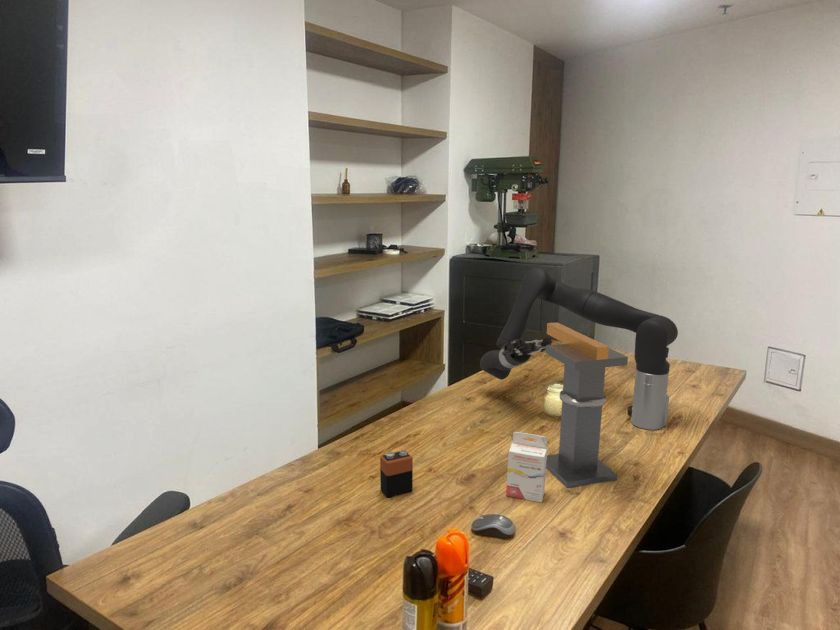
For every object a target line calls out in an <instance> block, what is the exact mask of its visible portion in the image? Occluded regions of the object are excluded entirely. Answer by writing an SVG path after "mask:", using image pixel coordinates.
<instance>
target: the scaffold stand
mask: <svg viewBox="0 0 840 630" xmlns="http://www.w3.org/2000/svg"><path fill="white" fill-rule="evenodd" d="M545 354H547V355H548V356H549V357H552V358H554V360H557V361H559V362H560V363H562V364H563V365H564V368H563V369H564V371H563V382H562V383H563V384H562V385H563V386H562V389H561V391H560V392H559V399H560V401H561V415H560V431H559V444H558V445H559V447H558V453H554V454H547V461H546V470H548V471H549V472H550V473H551V474H552V475H553V476H554V477H555V478H556V479H557V480H558V481H559V482H560V483H561V484H562V486H564V487H565V488H567V489H568V488H574V487H581V486H587V485H595V484H600V483H607V482H612V481H613V482H615V481H618V473H616V472H615V471H614V470H613V469H611V468H610V467H609V466H608V465H606V464H605V463H604V462H603V461H602V460H600V459H599V452H600V450H599V449H600V440H601V426H602V412H603V406H604V405H605V404H606V395H605V394H604V390H605V378H606V377H605V376H606V368H610V367H621V366H628V361H629V357H628V356H627V355H625V354H622V353H620V352H618V351H616V350H614V349H613V348H612V349H611V348H610V347H609V349H608V359H602V360H595V359H594V358H592V357H590V356H588V355H586V354H584V353H582V352H580V351H578V350H576V349H575V348H573V347H571V346H569V345H567V344H565V343H559V344H551V345H546V351H545Z"/></svg>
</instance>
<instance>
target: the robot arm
mask: <svg viewBox="0 0 840 630" xmlns="http://www.w3.org/2000/svg"><path fill="white" fill-rule="evenodd" d="M537 300H540V301H543V302H547V303H550V304H553V305H556V306H557V305H558V306H560V307H562V308H564V309H566V310H568V311H570V312H571V313H573V314H575V315H577V316H579V317H581V318H583V319H584V320H585V319H586V320H588V321H590V322H591V323H595V324H597V325H601V326H605V327H606V326H607V327H610V328H611V327H612V328H617V329H622V330H628V331H630V332H633V333H635V337H634V338H635V339H634V340H635V341H634V361H635V363H636V364H635V365H636V366H635V375H634V376H635V377H634V387H633V397H632V408H631V420H630V422H631V424H632V425H634V426H635V427H638V428H640V429H644V430H652V431H656V430H660V429H662V428H663V427H666V426H667V422H668V412H669V403H670V402H669V401H670V396H669V395H668V394H667V393H668V385H669V377H670V375H669V374H670V362H669V361H668V360H667V347H668V346H669V345H671V344H672V343H674V342H675V341H676V339H677V337H678V335H679V331H678V327H677V325H676V324H675V322H674V321H673V320H671V319H670V318H668V317H667V316H664V315H660V314H657V313H653V312H649V311H646V310H642V309H639V308H636V307H634V306H631V305H629V304H627V303H625V302H622V301H620V300H617V299H615V298H613V297H611V296H608V295H606V294H604V293H601V292H599V291H596V290H592V289H589V288H588V289H587V288H580V287H573V286H570V285H568V284H566V283H564V282H562V281H560V280H558V279H556V278H555V277H554V276H553V275H551V274H550V273H549V272H548V271H547V270H546V269H544V268H543V267H539V266H537V267H532V268H531V269H529V270H528V271H527V272H526V273H525V275H524V278H523V279H522V282H521V285H520V288H519V292H518V294H517V296H516V300H515V302H514V305H513V307H512V310H511V312H510V315H509V317H508V319H507V322H506V324H505V325H504V327H503V329H502V331H501V333H500V334H499V336H498V338H497V340H496V346H497V347H498V348H499V349H498V350H497V349H496V350H494V349H493V350H489V351H487V352H485V353H484V354H483V355H482V356H481V359H480V361H479V366H480V368H481V370H482V371H483V372H486V373H487V374H488V375H491V376H493V377H495V378H496V379H498V380H504V379H507V378H509V376H510V374H511V371H512V369H514V368H516V367H519V366H521V365H523V364H524V363H527V362H528V361H529V360H530V358H531V356H532V355H533V354H534V353H538V352H541V353H544V352H546V345H552V343H553V341H552V337H551V336H547V337H544V338H543V339H541V340H539V339H534V340H531V341H529V340H527V341H525V340H524V338H523V337H524V335H525V333H526V331H527V326H528V321H529V316H530V313H531V309H532V307H533V305H534V303H535V301H537Z"/></svg>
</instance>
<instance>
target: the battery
mask: <svg viewBox="0 0 840 630" xmlns="http://www.w3.org/2000/svg"><path fill="white" fill-rule="evenodd" d="M379 458H380V459H379V463H380V464H379V465H380V469H379V471H380V473H379V474H380V477H379V478H380V490H381V492H383V494H384V495H385V497H386V498H390V497H395V496H399V495H403V494H407V493H410V492H412V491H413V484H414V482H413V477H414V476H413V475H414V474H413V468H414V467H413V462H414V461H413V460H414V459H413V456H412V455H411V454H410V453H408V452H407V450H405V449H403V450H402V449H401V450H399V451H395V452H393V451H388V452H386V453H385V454H382V455H380V457H379Z"/></svg>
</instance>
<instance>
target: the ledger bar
mask: <svg viewBox="0 0 840 630" xmlns="http://www.w3.org/2000/svg"><path fill="white" fill-rule="evenodd" d="M546 335H548V336H549V337H551V338H554V339H555V340H558V341H560V342H562V344H567V345H569V346H571V347H573V348H575V349H576V350H578V351H580V352H582V353H584V354H586V355H588V356H590V357H592V358H594V359H595V360H602V359H608V349H609V348H610V347H609V346H608V345H606V344H604V343H602V342H600V341H598V340H595V339H593V338H591V337H589V336H587V335H585V334H582V333H581V332H578V331H576V330H574V329H572V328H570V327H568V326H566V325H564V324H562V323H559V322H546Z"/></svg>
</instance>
